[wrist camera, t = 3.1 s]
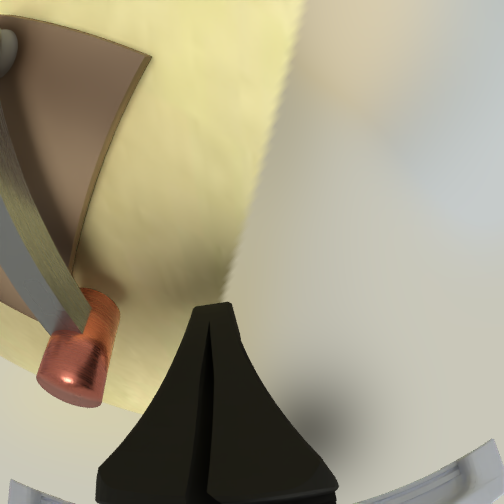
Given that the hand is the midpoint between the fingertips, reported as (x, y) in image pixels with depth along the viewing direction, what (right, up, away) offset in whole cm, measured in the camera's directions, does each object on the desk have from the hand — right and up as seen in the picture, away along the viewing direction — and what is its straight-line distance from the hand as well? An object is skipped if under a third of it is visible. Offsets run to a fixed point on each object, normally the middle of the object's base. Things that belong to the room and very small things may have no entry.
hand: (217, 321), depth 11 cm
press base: (-9, +5, -1) cm, 10 cm away
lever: (-7, +5, -2) cm, 9 cm away
